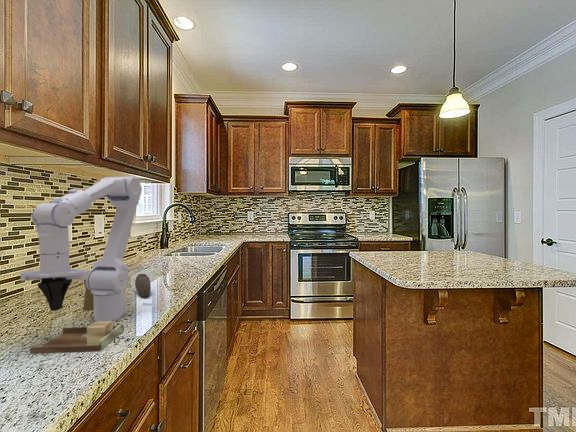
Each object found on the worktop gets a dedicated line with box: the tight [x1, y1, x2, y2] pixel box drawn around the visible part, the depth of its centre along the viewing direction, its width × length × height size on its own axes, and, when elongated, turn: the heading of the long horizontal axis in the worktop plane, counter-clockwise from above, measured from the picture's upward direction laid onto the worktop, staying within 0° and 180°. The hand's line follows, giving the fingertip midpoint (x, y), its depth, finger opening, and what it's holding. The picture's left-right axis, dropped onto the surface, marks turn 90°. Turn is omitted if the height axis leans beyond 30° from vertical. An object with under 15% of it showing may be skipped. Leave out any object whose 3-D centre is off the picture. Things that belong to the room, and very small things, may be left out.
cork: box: [83, 279, 94, 311], centre depth 108 cm, size 6×6×11 cm
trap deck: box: [29, 323, 125, 355], centre depth 78 cm, size 12×15×4 cm
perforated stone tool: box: [134, 273, 152, 297], centre depth 124 cm, size 15×5×7 cm, turn 28°
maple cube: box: [86, 321, 114, 344], centre depth 78 cm, size 4×4×4 cm
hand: (56, 309), depth 77 cm, fingers closed
